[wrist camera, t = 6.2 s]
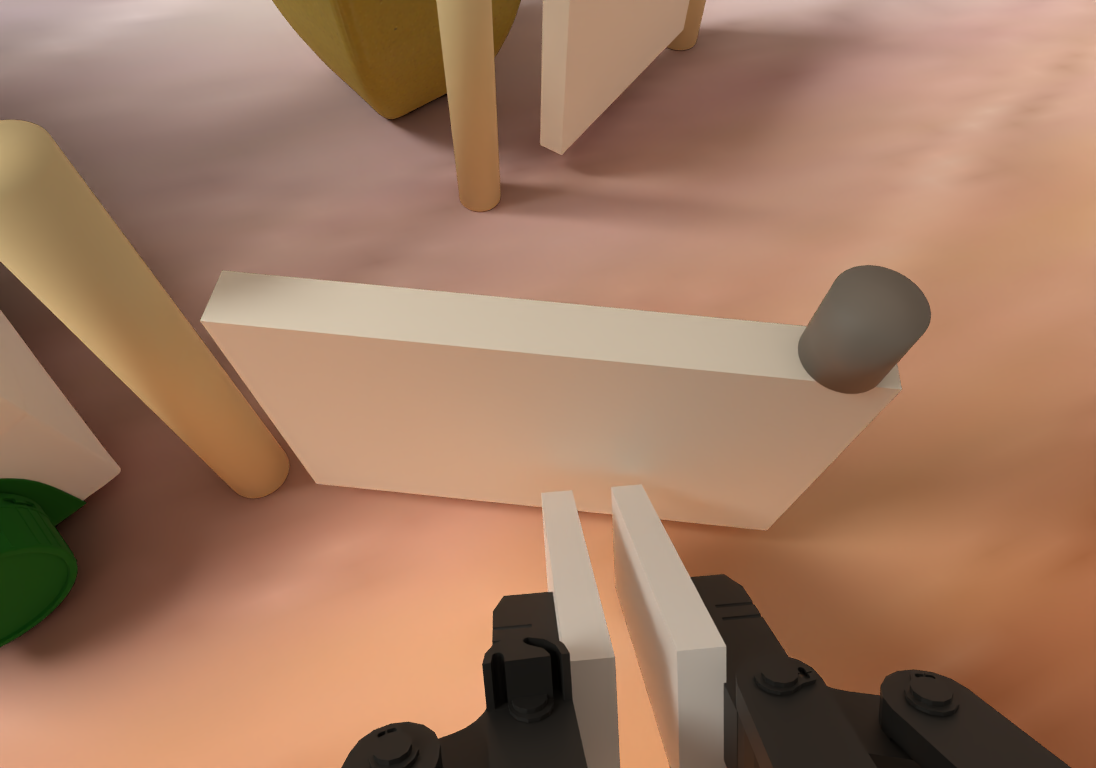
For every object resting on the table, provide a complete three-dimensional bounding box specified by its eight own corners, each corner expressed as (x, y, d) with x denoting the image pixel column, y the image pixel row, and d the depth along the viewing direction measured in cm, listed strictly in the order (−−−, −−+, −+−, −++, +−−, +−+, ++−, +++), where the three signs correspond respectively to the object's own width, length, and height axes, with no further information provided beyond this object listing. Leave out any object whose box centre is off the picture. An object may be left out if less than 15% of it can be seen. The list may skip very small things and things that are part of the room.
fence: (258, 509, 20) (-29, 221, 10) (185, 454, 21) (-151, 135, 11) (703, 35, 32) (786, -319, 22) (646, 12, 33) (700, -340, 23)
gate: (314, 490, 19) (154, 273, 11) (329, 439, 20) (189, 201, 12) (767, 537, 19) (952, 350, 11) (763, 483, 20) (933, 271, 12)
